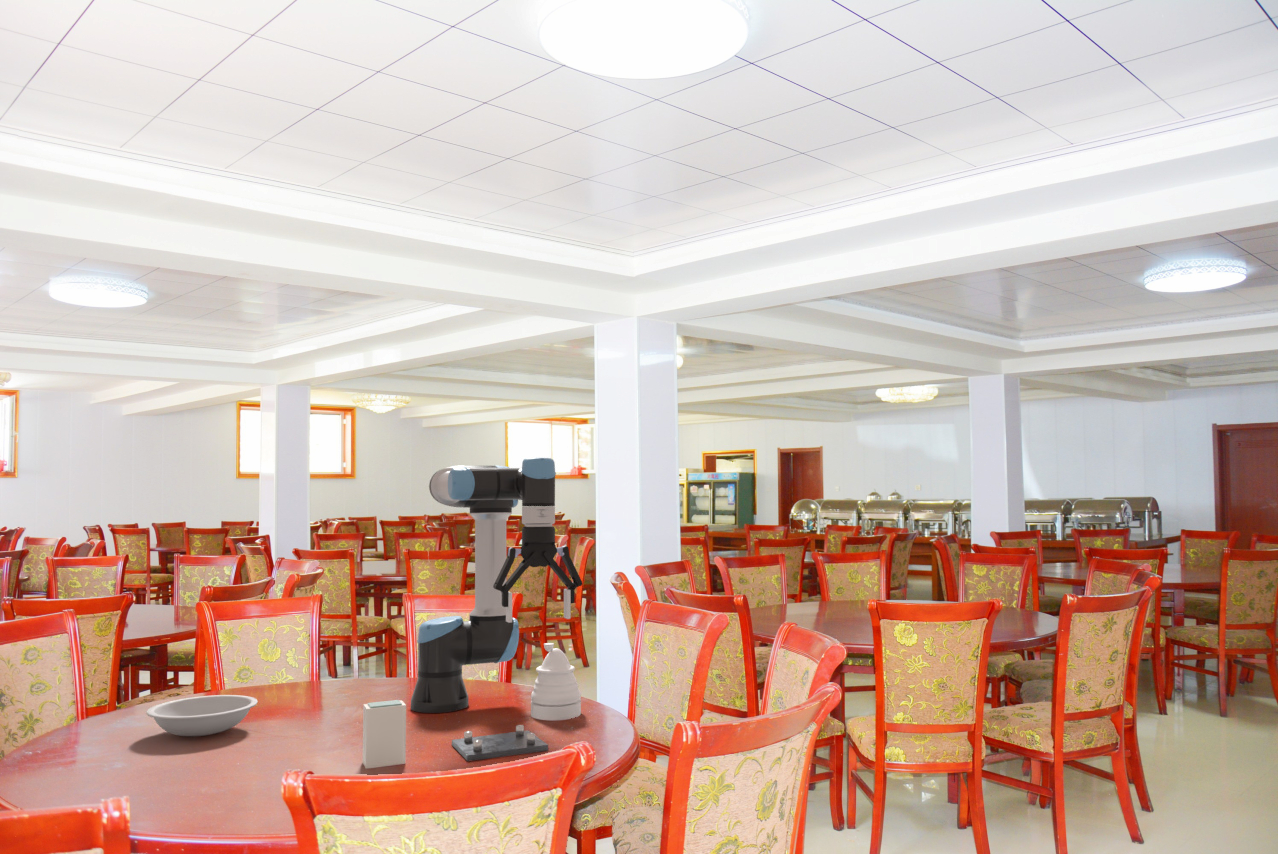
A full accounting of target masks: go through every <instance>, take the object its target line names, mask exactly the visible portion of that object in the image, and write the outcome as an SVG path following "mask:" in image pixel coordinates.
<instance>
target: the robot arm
mask: <svg viewBox="0 0 1278 854" xmlns="http://www.w3.org/2000/svg"><path fill="white" fill-rule="evenodd" d="M555 464H556V463H555V460H554V459H553V458H551V457H527V458H524V459H523V460H522V464H521V467H510V466H505V465H495V464H494V465H451V466H447V467H444V468H441V469H439V470H437V471H436V472H434V474H433V475H432V476H431V479H430V480H429V485H428V489H429V492H430V495H431V497H432V499H434V500H435V501H436V502H437V503H439V504H441V505H443V506H448V507H451V508H452V507H453V508H463V509H464V508H466V509H467V508H469V515H470V516H471V517H472V518H473V520H474V523H475V524H474V525H475V527H474V529H475V530H474V531H475V532H474V533H475V534H474V535H475V536H474V541H475V542H474V546H475V547H474V548H475V549H474V558H475V559H474V569H475V570H474V573H475V575H474V578H475V579H474V608H473V609H472V610H471V611H470V612H469V620H465V621H464V619H463V617H462V616H461V615H451V616H442V617H437V618H434V619H429V620H427V621H424V622H422V623H421V624H420V626H419V628H418V634H417V641H416V642H417V644H418V645H417V649H418V650H417V680H416V683H415V686H414V689H413V693H412V695H411V699H410V710H411V711H413V712H418V713H425V714H436V713H437V714H440V713H451V712H455V711H460V710H464V709H466V708H468V706H469V694H468V691H467V687H466V685H465V682H464V678H463V666H469V665H481V664H490V663H491V664H498V663H504V662H508V661H510V660H512V659H513V658H514V657H515V654H516V652H517V648H518V645H519V640H520V638H519V637H520V628H519V621H518V619H517V618H515V617H513V592H511V591H510V590H511V589H512V588H513V586H514V585H515V584H516V583H517V582H518V580H519V579H520V578H521V577H522V575H523V574H524V573H525V572H526V570H527V569H528V568H529V567H532V568H537V567H542V568H545V567H546V568H547V566H548V567H549V568H550V569H552V572H554V573H555V575H556V576H557V577H558V578H559V579H560V581H561V582H562V583H563V584H564V585H565V586H566V588H564V589H563V618H564V619H566V620H571V618H572V616H571V615H572V614H571V612H572V611H571V604H574V603H575V590H576V589H577V588H578V587H582V586H583V581H582V579H581V576H580V575H579V572H578V571H577V568H576V566H575V564H574V562H573V560H572V558H571V555H570V549H569V546H568V545H567V546H566V545H562V546H558V547H557V546H556V527H555V526H553V525H554V524H555V523H556V507H555V506H556V475H557V472H556V466H555ZM519 501H521V507H522V508H521V524H522V525H524V526H522V527H521V547H520V548H516V547H511V546H510V547H507V519H508V518H509V517H510V516H511V515H512V513H513V509H514V508H516V507H517V506H518V504H519ZM507 548H508V549H507ZM557 553H558V556H560V557H561V559H562V561H563V563H564V566H565V567H566V569H567V571H568V573H569V575H570V577H571V578H569V576H568V575H567V574H566V572H564V570H563V569H562V568H561V567H560V566H559V564H558V562H557V561H556V560H555V559H554V558H555V556H556V555H557ZM519 555H520V556H521V557H522V560H521V562H520V563H519V564H518V566H517V567H516V568H515V570H514V571H513V573H512V574H511V575H510V576H509V578H508V579H507V576H508V575H509V572H510V570H511V568H512V566H513V564H514V561H515V559H516V558H518V556H519ZM571 579H572V580H571Z"/></svg>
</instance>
